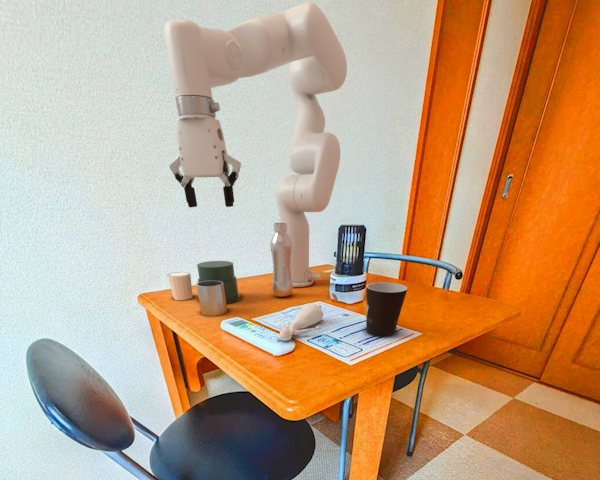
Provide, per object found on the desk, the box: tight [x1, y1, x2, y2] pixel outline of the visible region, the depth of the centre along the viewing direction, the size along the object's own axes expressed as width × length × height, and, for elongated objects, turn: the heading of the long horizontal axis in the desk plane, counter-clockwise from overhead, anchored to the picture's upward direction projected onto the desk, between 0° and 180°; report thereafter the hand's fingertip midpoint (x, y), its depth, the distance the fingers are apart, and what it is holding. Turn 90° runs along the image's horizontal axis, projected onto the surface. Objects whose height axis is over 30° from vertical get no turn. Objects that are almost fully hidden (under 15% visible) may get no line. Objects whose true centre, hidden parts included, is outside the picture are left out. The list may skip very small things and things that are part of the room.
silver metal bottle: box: [269, 222, 294, 298], centre depth 92 cm, size 6×7×20 cm
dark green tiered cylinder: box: [196, 260, 241, 305], centre depth 93 cm, size 12×12×10 cm
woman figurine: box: [277, 302, 324, 342], centre depth 73 cm, size 12×4×18 cm
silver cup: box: [195, 280, 228, 317], centre depth 83 cm, size 7×7×8 cm
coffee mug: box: [365, 281, 408, 338], centre depth 71 cm, size 12×9×10 cm
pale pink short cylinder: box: [166, 271, 194, 301], centre depth 95 cm, size 7×7×7 cm
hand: (211, 206), depth 75 cm, fingers open, 9 cm apart
